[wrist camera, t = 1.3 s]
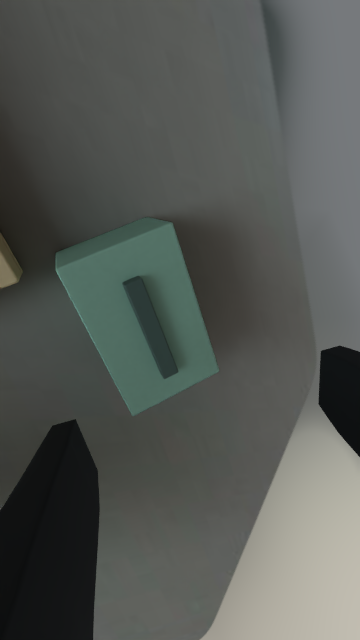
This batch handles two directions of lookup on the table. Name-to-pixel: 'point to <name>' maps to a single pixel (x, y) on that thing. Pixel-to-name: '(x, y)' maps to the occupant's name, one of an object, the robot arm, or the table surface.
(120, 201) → the table surface
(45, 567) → the robot arm
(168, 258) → the green pad
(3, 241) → the frame tray
